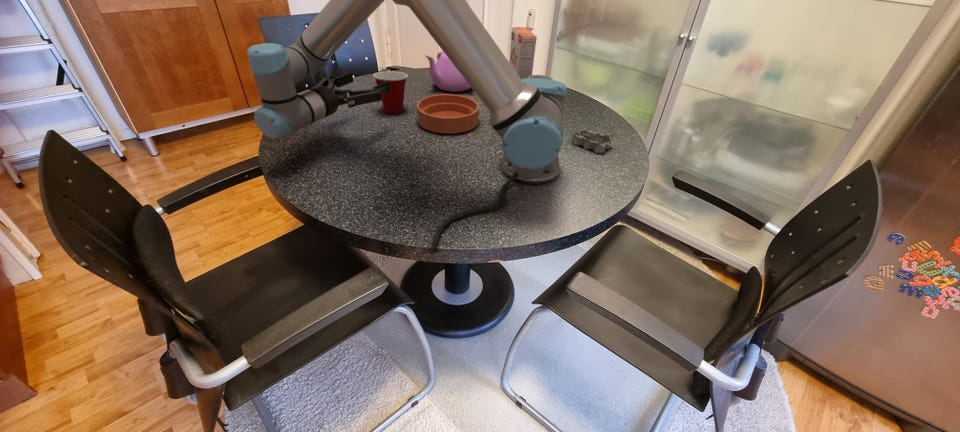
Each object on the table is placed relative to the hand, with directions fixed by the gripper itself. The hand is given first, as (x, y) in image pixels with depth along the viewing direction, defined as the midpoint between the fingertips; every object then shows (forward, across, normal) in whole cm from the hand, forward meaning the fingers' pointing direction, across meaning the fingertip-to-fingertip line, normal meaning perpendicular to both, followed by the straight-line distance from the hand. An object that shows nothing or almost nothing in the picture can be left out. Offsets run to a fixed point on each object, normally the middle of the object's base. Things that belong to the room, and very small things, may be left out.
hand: (370, 81), depth 110 cm
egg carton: (+19, +64, -12) cm, 68 cm away
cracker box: (+53, +28, -12) cm, 61 cm away
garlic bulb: (+23, -14, -13) cm, 30 cm away
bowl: (+11, +20, -12) cm, 26 cm away
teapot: (+39, +5, -12) cm, 41 cm away
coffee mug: (+40, +40, -12) cm, 58 cm away
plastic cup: (+10, 0, -13) cm, 16 cm away
